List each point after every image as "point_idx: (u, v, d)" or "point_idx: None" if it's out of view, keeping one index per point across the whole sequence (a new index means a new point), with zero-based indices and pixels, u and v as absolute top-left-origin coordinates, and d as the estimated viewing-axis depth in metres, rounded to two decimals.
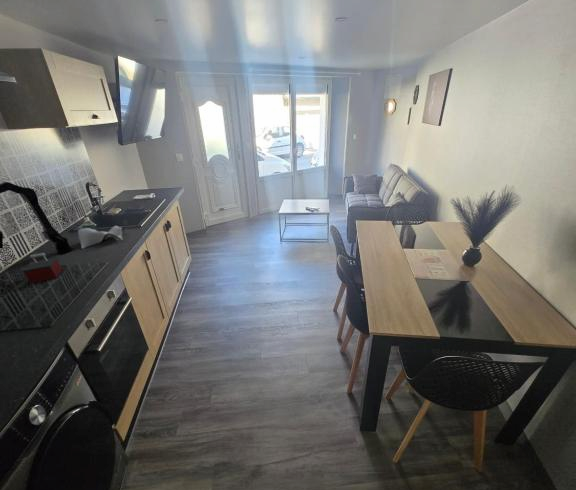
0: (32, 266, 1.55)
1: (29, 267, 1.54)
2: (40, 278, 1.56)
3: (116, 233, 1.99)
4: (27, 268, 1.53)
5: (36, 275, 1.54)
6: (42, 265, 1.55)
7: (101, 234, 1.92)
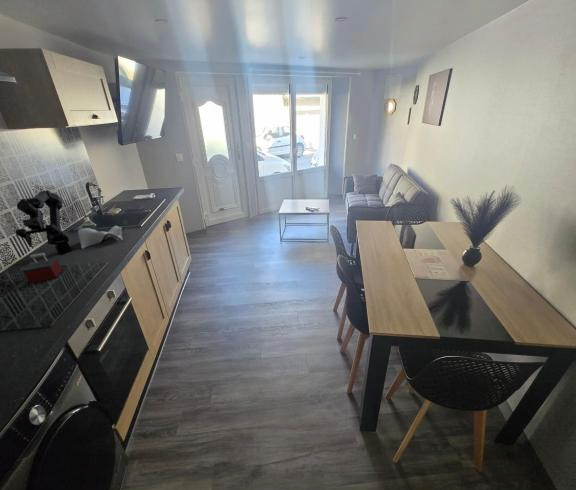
0: (32, 266, 1.55)
1: (29, 267, 1.54)
2: (40, 278, 1.56)
3: (116, 233, 1.99)
4: (27, 268, 1.53)
5: (36, 275, 1.54)
6: (42, 265, 1.55)
7: (101, 234, 1.92)
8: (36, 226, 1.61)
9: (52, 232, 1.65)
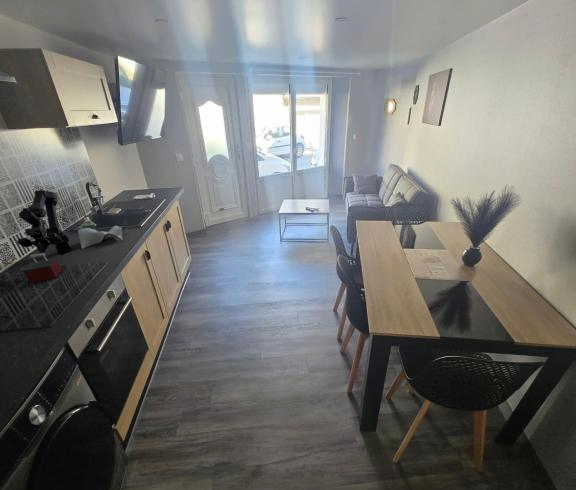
0: (32, 266, 1.55)
1: (29, 267, 1.54)
2: (40, 278, 1.56)
3: (116, 233, 1.99)
4: (27, 268, 1.53)
5: (36, 275, 1.54)
6: (42, 265, 1.55)
7: (101, 234, 1.92)
8: (38, 235, 1.60)
9: (45, 242, 1.63)
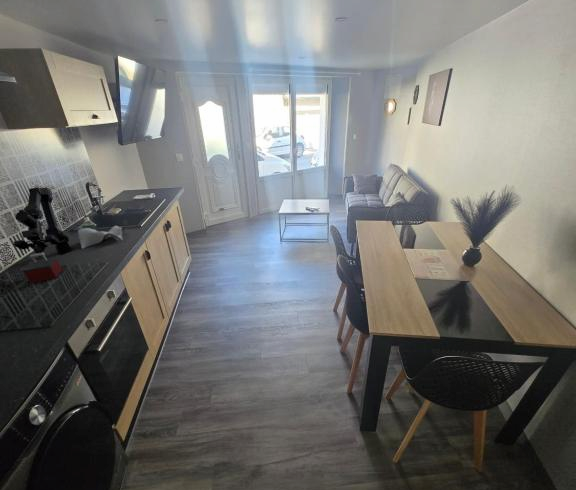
0: (32, 266, 1.55)
1: (29, 267, 1.54)
2: (40, 278, 1.56)
3: (116, 233, 1.99)
4: (27, 268, 1.53)
5: (36, 275, 1.54)
6: (42, 265, 1.55)
7: (101, 234, 1.92)
8: (35, 237, 1.57)
9: (42, 244, 1.59)
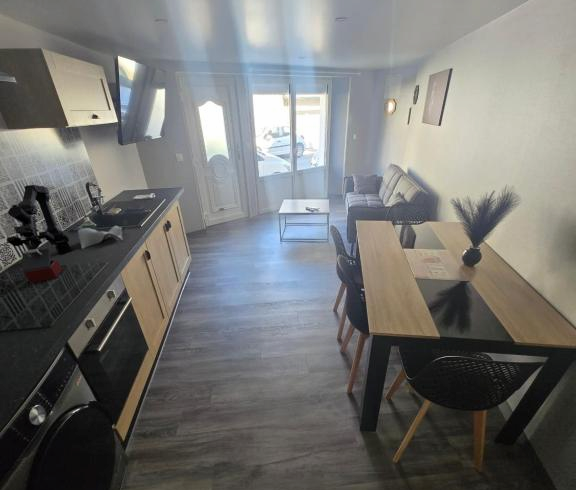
0: (29, 263, 1.53)
1: (27, 264, 1.53)
2: (40, 278, 1.56)
3: (116, 233, 1.99)
4: (25, 267, 1.52)
5: (36, 275, 1.54)
6: (40, 263, 1.54)
7: (101, 234, 1.92)
8: (29, 233, 1.52)
9: (36, 241, 1.55)
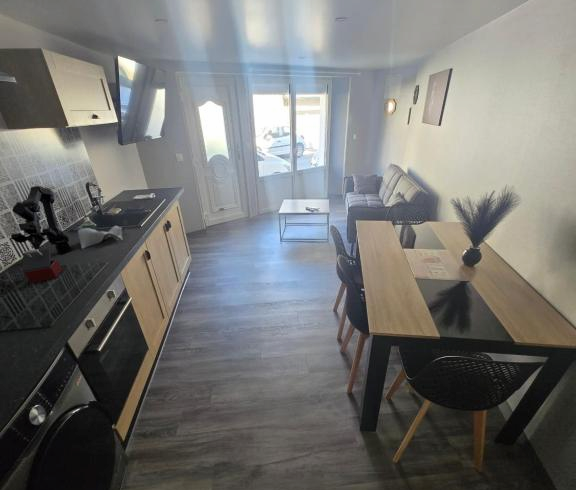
0: (29, 263, 1.53)
1: (27, 265, 1.53)
2: (40, 278, 1.56)
3: (116, 233, 1.99)
4: (26, 267, 1.52)
5: (36, 275, 1.54)
6: (40, 263, 1.54)
7: (101, 234, 1.92)
8: (32, 230, 1.56)
9: (40, 238, 1.59)
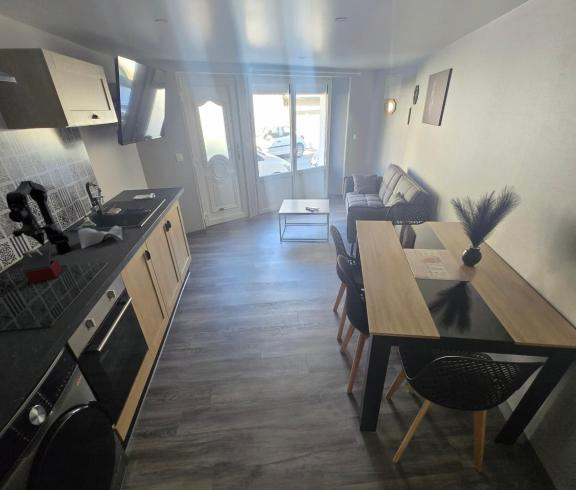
0: (29, 263, 1.53)
1: (27, 265, 1.53)
2: (40, 278, 1.56)
3: (116, 233, 1.99)
4: (26, 267, 1.52)
5: (36, 275, 1.54)
6: (40, 263, 1.54)
7: (101, 234, 1.92)
8: None
9: None
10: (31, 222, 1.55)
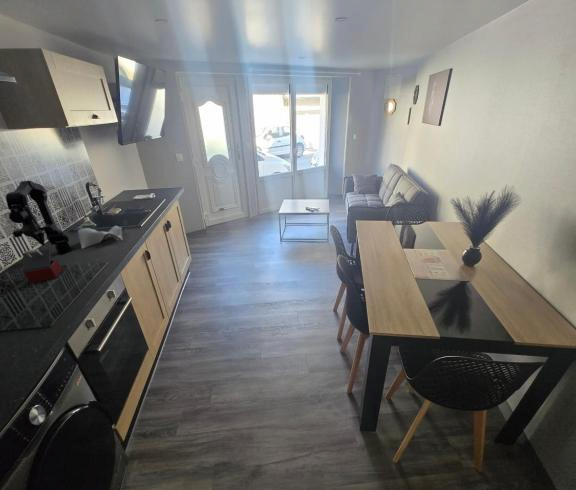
0: (29, 263, 1.53)
1: (27, 265, 1.53)
2: (40, 278, 1.56)
3: (116, 233, 1.99)
4: (26, 267, 1.52)
5: (36, 275, 1.54)
6: (40, 263, 1.54)
7: (101, 234, 1.92)
8: None
9: None
10: (31, 222, 1.55)
